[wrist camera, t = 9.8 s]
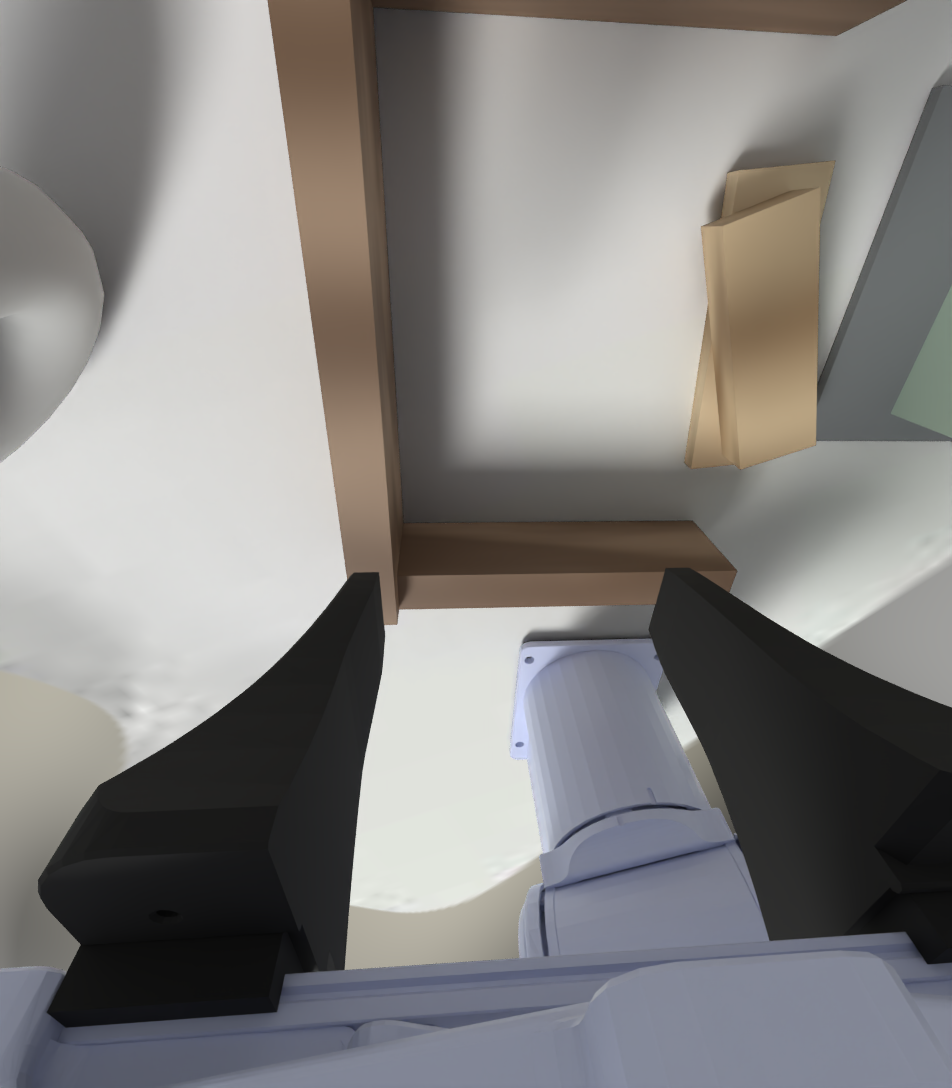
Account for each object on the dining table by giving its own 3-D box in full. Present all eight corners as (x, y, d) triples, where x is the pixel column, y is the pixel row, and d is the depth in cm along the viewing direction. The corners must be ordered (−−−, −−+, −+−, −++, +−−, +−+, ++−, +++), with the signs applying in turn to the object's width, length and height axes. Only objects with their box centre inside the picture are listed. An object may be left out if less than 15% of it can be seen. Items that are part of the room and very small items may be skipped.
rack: (683, 550, 24) (737, 619, 19) (369, 554, 23) (353, 627, 18) (860, -47, 13) (1056, -177, 9) (302, -88, 12) (232, -256, 8)
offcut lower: (743, 448, 22) (762, 461, 21) (676, 455, 22) (691, 468, 21) (805, 166, 16) (835, 160, 15) (716, 175, 16) (739, 170, 15)
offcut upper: (792, 431, 20) (815, 445, 19) (722, 454, 20) (740, 469, 19) (790, 190, 16) (820, 187, 14) (700, 226, 16) (722, 226, 15)
